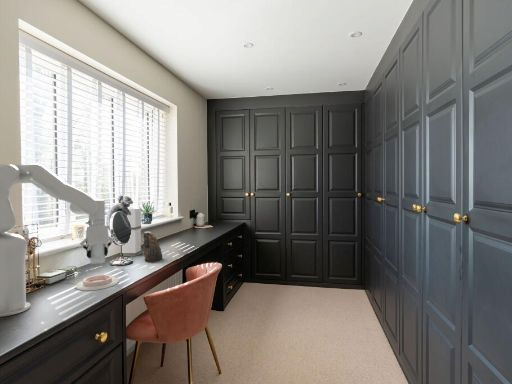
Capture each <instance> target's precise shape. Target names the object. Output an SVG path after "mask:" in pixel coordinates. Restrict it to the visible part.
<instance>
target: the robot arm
mask: <svg viewBox="0 0 512 384" xmlns="http://www.w3.org/2000/svg"><path fill="white" fill-rule="evenodd" d="M20 184H21V185H22V184H33V185H34V186H36V187H37V188H38V189H40V190H41V191H42V192H44V193H45V194H47V195H49V196H50V197H52V198H54V199H57V200H60V201H64V202H67V203H69V210H70V212H72V213H74V214H76V215H86V216H88V219H87V221H85V225H87V227H86V232H85V238H84V239H83V240H82V241H80V243H79V245H80V246H81V247H82V248H83V249H84V250H85V251H86V257H87V258H88V259H90V258H91V251H90V248H91V246H94V245H99V240H102V244H104V246H105V257H106V256H108V254H109V247H111V246H112V243H113V242H114V241H115V240H114V238H112V237H111V236H110V235H109V228H108V224H106V207H105V205H106V202H105V200H104V199H102V198H100V199H99V198H96V199H94V198H92V197H91V196H90V195H89V194H87V193H86V192H84V191H82V190H80V189H79V188H76V187H75V186H73V185H71V184H69V183H67V182H65V181H64V180H63V179H61V178H60V177H59V176H57V175H56V174H55V173H54V172H52V171H51V170H49V169H48V168H47V167H45V166H44V165H42V164H39V163H27V164H10V163H3V164H2V163H1V164H0V317H8V316H9V317H10V316H12V315H18V314H20V313H23V312H25V311H27V310H29V309H30V308H31V306H32V305H31V304H32V303H31V302H28V301H27V296H26V295H27V291H26V289H27V288H26V286H27V285H26V283H27V282H26V260H27V259H26V258H27V253H28V242H27V240H26V239H25V237H24V236H22V235H20V234H17V233H12V232H10V231H12V230H13V229H14V228H15V227H16V225H17V216H16V214H15V210H14V208H13V205H12V201H11V198H10V197H11V196H10V191H11V189H12V187H13V185H20ZM85 244H86V245H85Z"/></svg>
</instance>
